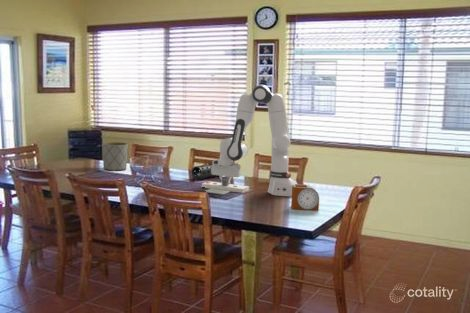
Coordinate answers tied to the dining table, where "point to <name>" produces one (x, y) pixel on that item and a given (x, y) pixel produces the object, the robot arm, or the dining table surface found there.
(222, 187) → the socket bar
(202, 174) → the muzzle brake
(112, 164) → the planter
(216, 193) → the mat
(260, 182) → the dining table surface
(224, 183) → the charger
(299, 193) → the alarm clock
